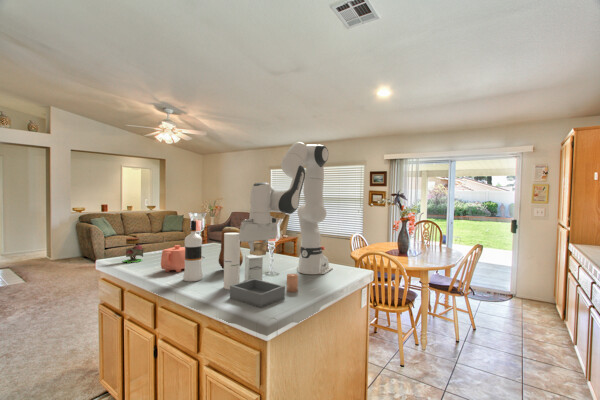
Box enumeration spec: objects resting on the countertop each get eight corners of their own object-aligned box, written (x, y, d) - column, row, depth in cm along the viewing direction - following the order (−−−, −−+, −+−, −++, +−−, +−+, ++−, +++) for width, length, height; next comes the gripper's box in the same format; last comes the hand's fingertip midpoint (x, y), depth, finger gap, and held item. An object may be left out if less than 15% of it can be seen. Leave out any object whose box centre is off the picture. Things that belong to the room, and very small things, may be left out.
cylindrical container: (226, 284, 139) (226, 232, 138) (241, 284, 138) (241, 232, 138) (221, 289, 131) (222, 234, 131) (237, 289, 131) (237, 234, 131)
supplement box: (247, 284, 140) (248, 258, 140) (244, 280, 147) (244, 255, 146) (262, 282, 143) (262, 257, 143) (258, 278, 149) (258, 254, 149)
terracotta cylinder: (291, 287, 134) (291, 272, 134) (299, 290, 131) (300, 274, 131) (284, 290, 130) (284, 275, 130) (293, 292, 127) (293, 277, 127)
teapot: (179, 264, 179) (179, 241, 179) (198, 266, 176) (198, 242, 176) (154, 273, 157) (154, 247, 157) (175, 275, 154) (175, 248, 154)
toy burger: (142, 262, 183) (142, 239, 183) (119, 263, 180) (120, 239, 179) (146, 258, 195) (146, 236, 195) (124, 260, 191) (125, 237, 191)
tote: (254, 289, 131) (254, 278, 131) (284, 298, 121) (284, 286, 121) (229, 297, 120) (230, 285, 120) (260, 308, 109) (261, 294, 109)
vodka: (179, 281, 143) (179, 220, 143) (189, 276, 152) (190, 219, 152) (196, 282, 141) (197, 221, 141) (206, 277, 151) (206, 220, 150)
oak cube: (257, 252, 130) (258, 241, 130) (266, 254, 127) (266, 243, 127) (249, 254, 126) (250, 242, 126) (257, 255, 123) (258, 244, 123)
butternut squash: (246, 268, 171) (247, 226, 171) (236, 274, 158) (237, 228, 158) (225, 267, 174) (225, 225, 174) (213, 272, 161) (214, 227, 161)
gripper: (246, 220, 116) (245, 254, 116) (280, 219, 133) (278, 249, 133) (236, 218, 120) (234, 252, 120) (269, 218, 137) (268, 247, 136)
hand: (258, 250), depth 126 cm, fingers closed on oak cube, 5 cm apart
